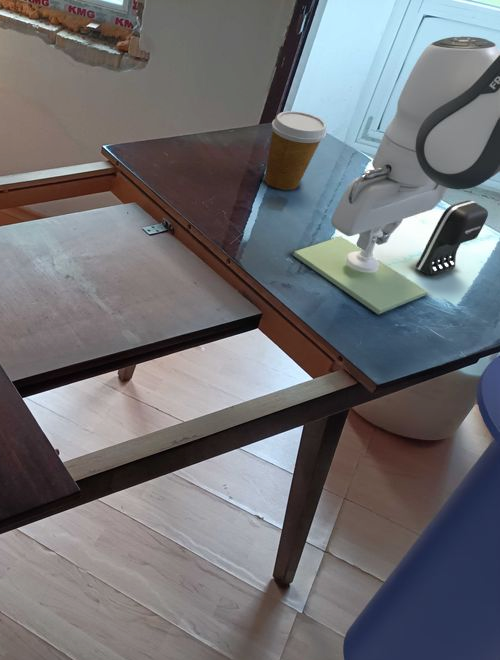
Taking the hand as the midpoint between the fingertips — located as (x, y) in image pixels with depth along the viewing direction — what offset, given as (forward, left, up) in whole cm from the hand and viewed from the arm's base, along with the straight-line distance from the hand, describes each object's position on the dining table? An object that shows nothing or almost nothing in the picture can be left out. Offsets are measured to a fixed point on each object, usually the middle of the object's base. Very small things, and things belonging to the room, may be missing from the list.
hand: (370, 244), depth 104 cm
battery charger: (-5, -13, -6) cm, 15 cm away
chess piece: (0, 0, -4) cm, 4 cm away
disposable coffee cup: (+28, -11, -6) cm, 31 cm away
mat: (0, 0, -6) cm, 6 cm away
